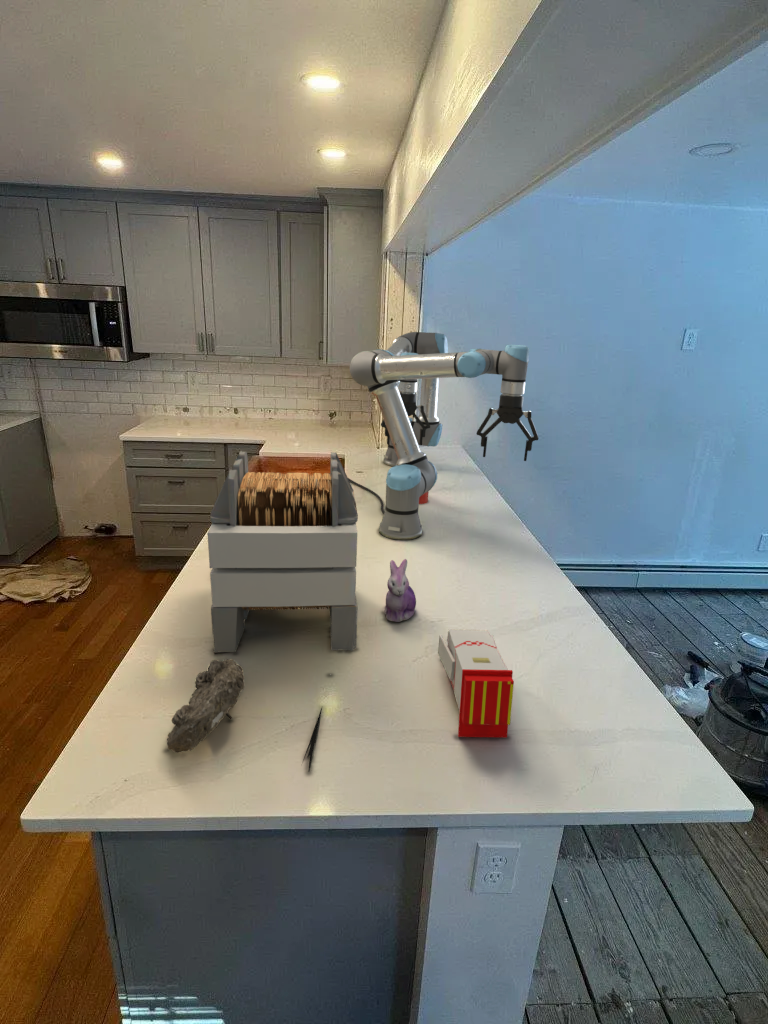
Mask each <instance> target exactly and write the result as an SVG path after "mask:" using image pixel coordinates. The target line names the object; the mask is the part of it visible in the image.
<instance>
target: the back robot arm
mask: <svg viewBox="0 0 768 1024" xmlns="http://www.w3.org/2000/svg"><path fill="white" fill-rule="evenodd" d="M386 350H387V351H389V352H391V353H392V354H393V355H394V356H403V355H421V354H438V353H449V343H448V338H447V335H446V334H444V333H441V332H424V331H423V332H422V331H411V332H406V333H404V334H402V335H400V336H398V337H396V338H395V339H394V340H393V342H392V344H391V345H390V346H389V347H388V348H387V349H386ZM418 380H419V379H401V380H400V384H399V386H398V390H399V393H400V395H401V398H402V401H403V404H404V407H405V409H406V412H407V415H408V418H409V421H410V423H411V426H412V429H413V432H414V435H415V437H416V440H417V443H418V446H419V447H420V446H421V447H422V446H423V447H437V446H438V445H439V442H440V440H441V438H442V437H441V436H442V434H443V433H442V432H443V424H442V423H441V422H440V418H439V416H438V407H439V406H438V405H439V404H438V403H439V391H440V378H425V379H421V383H420V398H419V399H420V400H419V405H417V395H418V394H417V392H418ZM417 410H418V411H419V415H417V414H416V413H415V412H416V411H417ZM413 418H414V419H415V421H414V419H413ZM380 426H381V427H382V428H384V436H385V437H386V444H387V449H386V451H385V454H383V464H384V465H386V466H390V467H393V466H396V463H397V461H398V457H397V454H396V451H395V449H394V446H393V443H392V440H391V438H390V435H389V432H388V429H387V427H386V424H385V421H384V418H382V420H381V423H380Z"/></svg>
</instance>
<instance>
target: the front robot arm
mask: <svg viewBox="0 0 768 1024" xmlns="http://www.w3.org/2000/svg"><path fill="white" fill-rule="evenodd" d="M529 355H530V348H529V347H528V346H527V345H522V344H507V345H506V346H505V348H504V350H496V349H485V348H484V349H483V348H471V349H469V350H468V351H460V352H459V351H458V352H448V353H438V354H421V355H403V356H394V355H393V354H392V353H391V352H389V351H387V349H380V348H378V349H373V350H364V351H359V352H357V354H355V355H354V356H353V357H352V358H351V361H350V363H349V373H350V376H351V378H352V380H353V382H355V383H357V384H358V385H359V386H363V387H367V390H368V392H369V394H370V395H372V396H374V397H375V399H376V402H377V404H378V408H379V410H380V413H381V416H382V419H384V421H385V424H386V427H387V429H388V432H389V435H390V438H391V440H392V443H393V446H394V449H395V451H396V454H397V457H398V461H397V463H396V466H391V467H390V468H389V469H388V470H387V473H386V478H385V504H384V502H383V501H384V500H382V497H381V496H380V495H378V493H376V492H375V491H373V490H372V489H370V488H368V487H367V486H364V485H362V484H360V483H358V482H357V481H354V480H352V479H351V478H349V477H348V480H349V482H350V484H351V483H352V484H353V485H354V486H357V487H359V488H361V489H363V490H365V491H367V492H368V493H370V494H372V495H374V496H375V497H376V498H377V499H378V500H379V502H380V511H381V513H382V514H383V515H382V519H381V522H379V526H378V533H379V534H380V535H381V536H382V537H385V538H387V539H389V540H395V541H410V540H415V539H418V538H420V537H421V536H422V535H423V525H422V524H421V518H420V515H419V507H420V506H419V505H420V504H419V497H420V496H422V495H423V494H424V493H426V492H428V491H429V492H430V491H431V490H432V489H433V487H434V486H435V484H436V483H437V480H438V471H437V468H436V466H435V464H434V463H433V462H431V461H430V460H429V458H428V456H427V454H426V452H423V451H422V450H421V449H420V445H418V443H417V440H416V437H415V435H414V432H413V429H412V426H411V423H410V421H409V418H410V417H409V416H408V415H407V412H406V409H405V407H404V404H403V401H402V398H401V395H400V393H399V390H398V386H399V384H400V380H401V379H418V380H422V379H425V378H439V379H445V378H446V379H447V378H467V379H471V378H473V379H474V378H477V377H479V376H482V375H487V374H488V375H499V376H501V383H500V393H501V394H500V395H499V402H498V408H493V407H492V406H491V407H489V408H488V412H487V414H486V416H485V418H484V419H483V421H482V423H481V424H480V425H479V428H478V429H477V430H476V436H479V437H480V447H482V448H483V451H482V452H483V453H482V457H483V458H486V456H487V447H488V434H490V433H491V432H492V431H493V430H494V429H495V428H496V427H497V426H498V425H499V424H501V423H503V424H510V425H514V424H517V427H519V429H520V430H521V432H522V433H523V435H524V436H525V437H526V440H525V447H524V457H523V461H524V462H527V459H528V453H529V452H531V451H532V448H533V442H535V441H538V440H539V435H538V431H537V429H536V426H535V424H534V421H533V417H532V411H531V410H523V406H524V405H523V404H524V399H525V398H524V394H525V389H526V379H527V372H528V366H529V362H530V361H529ZM495 414H497V416H498V417H497V419H496V420H494V422H492V423H491V424H490V425H489V427H487V428H486V429H485V430H484V428H485V427H486V425H487V424H488V422H489V421H490V419H491V417H492V416H494V415H495ZM523 416H524V417H525V419H527V422H528V424H529V428H530V430H531V433H532V435H533V436H532V435H531V434H530V432H529V431H528V429H527V428H526V426H525V425H524V424H523V422H522V420H521V418H522V417H523ZM408 417H409V418H408ZM483 430H484V431H483ZM384 505H385V507H384ZM384 508H385V509H384Z"/></svg>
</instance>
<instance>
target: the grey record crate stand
mask: <svg viewBox="0 0 768 1024" xmlns="http://www.w3.org/2000/svg"><path fill="white" fill-rule="evenodd" d="M329 465H330V466H329V467H330V469H329V470H330V472H324V473H321V472H313V474H309V473H308V472H286V473H285V472H284V473H283V472H274V471H273V472H269V471H266V472H264V471H263V472H260V471H259V472H258V471H257V472H255V471H249V459H248V451H242V450H240V451H239V453H238V455H237V457H236V458H235V460H234V463H233V465H232V467H231V468H230V469H229V471H228V473H227V475H226V477H225V480H224V482H223V484H222V487H221V489H220V491H219V493H218V496H217V498H216V500H215V502H214V504H213V507H212V508H211V511H210V514H209V519H210V523H211V525H210V527H209V529H208V531H207V532H206V534H207V548H208V562H209V563H208V565H209V569H211V570H210V573H209V575H210V576H209V577H210V590H211V591H210V592H211V593H210V594H211V606H210V617H211V633H212V637H213V638H212V639H213V649H212V652H213V653H214V654H215V653H216V654H220V653H236V652H237V649H238V647H239V645H240V642H241V639H242V637H243V635H244V632H245V625H246V624H245V621H247V619H248V615H249V611H268V610H270V611H273V610H274V611H275V610H277V611H278V610H279V611H280V610H284V611H286V610H290V611H291V610H294V611H295V610H325V609H326V610H329V619H330V621H329V622H330V623H329V625H330V626H329V627H330V628H329V629H330V650H331V651H351V652H353V651H354V650H355V649H357V638H358V635H357V631H358V602H357V601H358V600H357V593H356V590H357V589H356V588H357V569H356V568H357V555H358V553H357V551H358V529H357V522H358V519H359V513H358V507H357V502H356V497H355V493H354V488H353V486H352V484H351V482H350V481H349V480H348V478H349V477H348V475H347V473H346V471H345V469H344V466H343V464H342V461H341V460H340V458H339V456H338V453H337V452H333V451H330V463H329Z"/></svg>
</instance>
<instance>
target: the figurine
mask: <svg viewBox="0 0 768 1024" xmlns="http://www.w3.org/2000/svg"><path fill="white" fill-rule="evenodd" d="M407 567H408V559H406V558H404V559H403V560H402V561H401V563H400V565H399V566H398V565H397V563H396V562H395V561H394V560H393V559H391V560H390V561H389V570H390V576H389V578H388V579H387V589H388V591H387V592H386V594H385V595H386V596H385V607H384V615H385V616H386V620H387V621H391V622H395V623H400V622H402V621H406V620H409V619H410V618H411V617H413V616H414V615H415V610H416V606H417V597H416V593H415V591H414V590H413V587H411V586H410V582H409V579H408V577H407V574H406V571H407Z"/></svg>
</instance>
